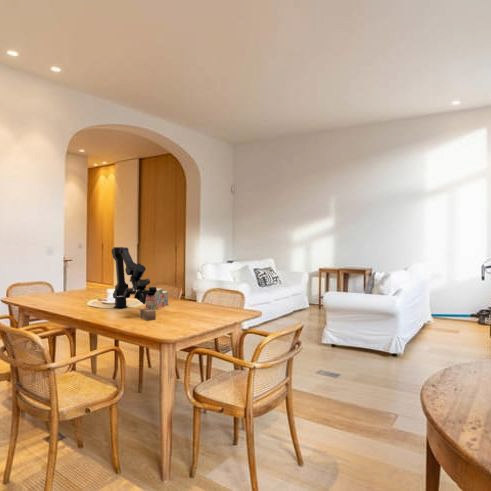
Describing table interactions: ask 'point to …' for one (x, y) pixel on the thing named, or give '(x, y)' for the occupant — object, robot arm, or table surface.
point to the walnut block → (147, 314)
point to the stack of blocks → (157, 299)
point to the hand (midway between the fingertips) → (144, 303)
